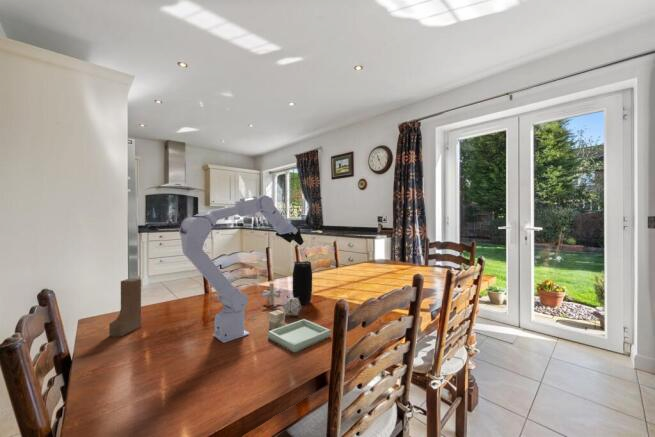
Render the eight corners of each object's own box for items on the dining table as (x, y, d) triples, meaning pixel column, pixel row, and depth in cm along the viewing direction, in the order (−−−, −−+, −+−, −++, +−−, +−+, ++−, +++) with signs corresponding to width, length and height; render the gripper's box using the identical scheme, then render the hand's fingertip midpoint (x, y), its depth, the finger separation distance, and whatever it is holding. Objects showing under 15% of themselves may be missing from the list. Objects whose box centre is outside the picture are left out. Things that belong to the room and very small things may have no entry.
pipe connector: (270, 309, 123) (270, 287, 123) (255, 305, 129) (256, 283, 129) (286, 304, 131) (286, 282, 131) (272, 299, 137) (272, 279, 137)
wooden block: (120, 337, 94) (120, 284, 94) (108, 336, 95) (108, 284, 94) (141, 326, 103) (141, 278, 103) (130, 326, 104) (130, 277, 103)
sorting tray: (294, 353, 85) (294, 345, 85) (268, 338, 94) (268, 331, 94) (330, 337, 96) (330, 329, 96) (304, 325, 106) (304, 318, 106)
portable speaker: (289, 302, 133) (289, 261, 133) (305, 298, 139) (306, 259, 139) (298, 307, 126) (298, 264, 126) (315, 303, 132) (315, 262, 132)
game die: (295, 323, 117) (309, 302, 120) (291, 323, 109) (306, 301, 112) (279, 310, 120) (293, 291, 122) (273, 310, 112) (288, 288, 114)
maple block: (275, 331, 100) (275, 315, 100) (269, 328, 103) (269, 312, 103) (284, 328, 103) (284, 312, 103) (278, 325, 106) (278, 309, 106)
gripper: (293, 213, 105) (312, 237, 112) (273, 211, 116) (292, 233, 123) (282, 227, 102) (302, 250, 109) (262, 224, 113) (282, 245, 120)
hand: (296, 242), depth 116 cm, fingers open, 7 cm apart
